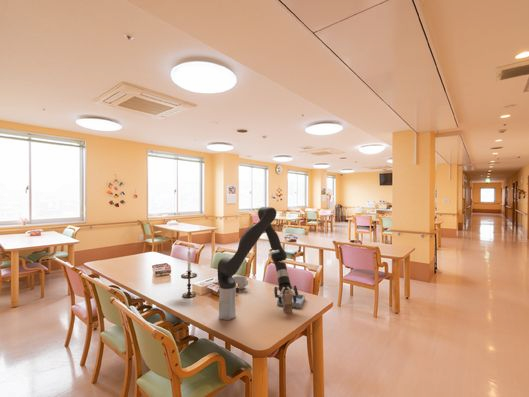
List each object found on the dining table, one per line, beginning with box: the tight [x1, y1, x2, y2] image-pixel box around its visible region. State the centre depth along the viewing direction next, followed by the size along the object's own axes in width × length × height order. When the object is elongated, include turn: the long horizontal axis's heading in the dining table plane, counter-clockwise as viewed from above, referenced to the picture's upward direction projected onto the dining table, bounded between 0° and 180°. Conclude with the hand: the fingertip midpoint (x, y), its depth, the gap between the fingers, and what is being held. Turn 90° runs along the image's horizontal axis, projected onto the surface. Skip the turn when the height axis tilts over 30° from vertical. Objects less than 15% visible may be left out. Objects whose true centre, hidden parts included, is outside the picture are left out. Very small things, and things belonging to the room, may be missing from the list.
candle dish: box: [276, 293, 306, 309], centre depth 173 cm, size 15×15×3 cm
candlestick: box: [180, 246, 198, 299], centre depth 184 cm, size 11×11×35 cm
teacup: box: [232, 275, 249, 290], centre depth 198 cm, size 14×11×8 cm
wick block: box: [282, 290, 293, 314], centre depth 159 cm, size 4×4×13 cm
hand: (288, 303), depth 158 cm, fingers open, 8 cm apart
